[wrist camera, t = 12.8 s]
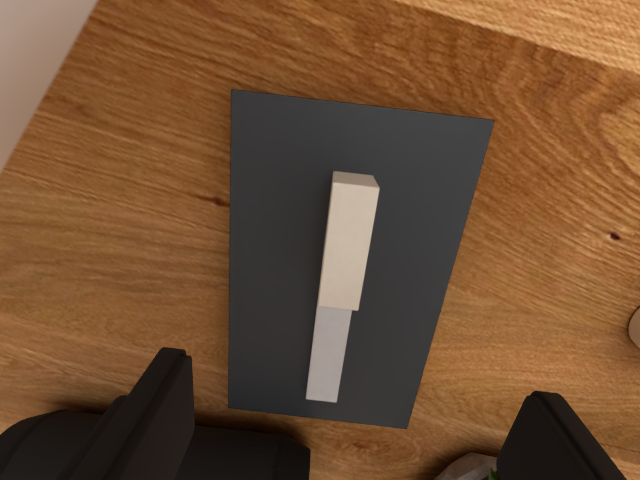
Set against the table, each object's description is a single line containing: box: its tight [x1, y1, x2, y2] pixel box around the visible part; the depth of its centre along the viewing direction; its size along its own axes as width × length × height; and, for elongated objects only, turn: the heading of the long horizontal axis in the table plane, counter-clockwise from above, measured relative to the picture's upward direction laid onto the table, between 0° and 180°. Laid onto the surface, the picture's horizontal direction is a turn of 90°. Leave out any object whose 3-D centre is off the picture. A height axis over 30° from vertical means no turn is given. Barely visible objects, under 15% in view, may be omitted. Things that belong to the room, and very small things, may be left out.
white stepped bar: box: [306, 171, 380, 403], centre depth 23 cm, size 19×3×4 cm, turn 174°
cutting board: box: [228, 89, 495, 429], centre depth 26 cm, size 16×26×2 cm, turn 174°
